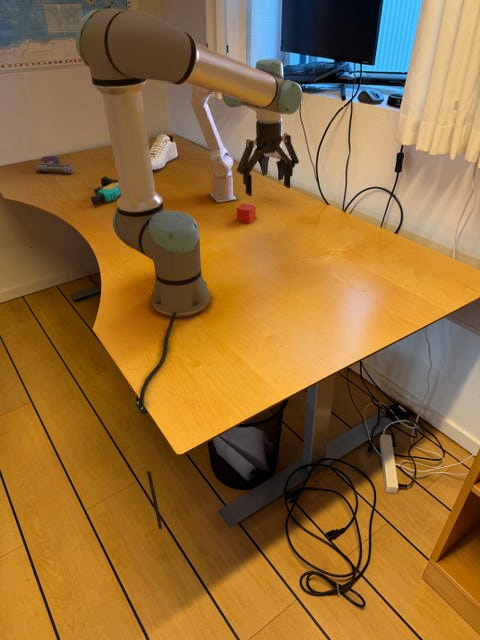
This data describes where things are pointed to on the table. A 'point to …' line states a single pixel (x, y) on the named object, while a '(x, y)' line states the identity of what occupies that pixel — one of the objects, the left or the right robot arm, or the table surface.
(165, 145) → the sneaker
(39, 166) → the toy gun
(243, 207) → the block
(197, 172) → the table surface
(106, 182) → the toy gun
